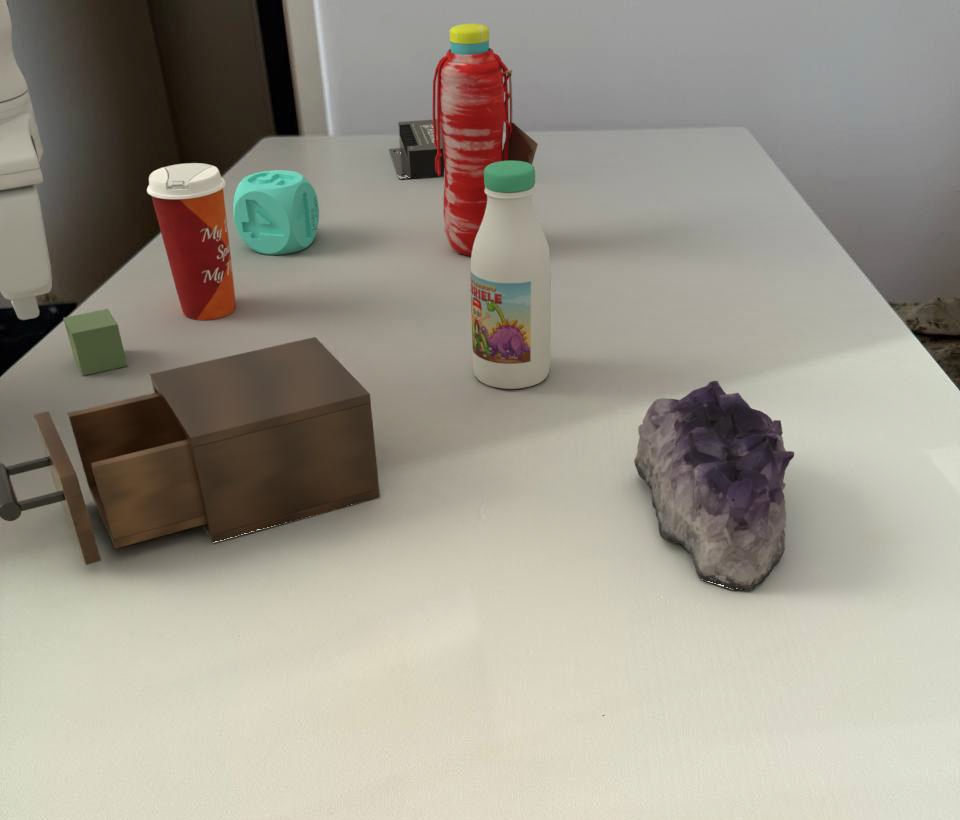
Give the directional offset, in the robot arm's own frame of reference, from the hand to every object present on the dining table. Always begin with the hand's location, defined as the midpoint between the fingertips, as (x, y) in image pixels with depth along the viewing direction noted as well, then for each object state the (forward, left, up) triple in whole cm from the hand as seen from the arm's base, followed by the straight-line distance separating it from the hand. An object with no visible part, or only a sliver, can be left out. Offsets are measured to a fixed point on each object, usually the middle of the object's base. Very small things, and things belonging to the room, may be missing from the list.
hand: (27, 312), depth 94 cm
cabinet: (+15, -14, -14) cm, 25 cm away
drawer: (+2, -14, -13) cm, 19 cm away
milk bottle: (+43, -5, -14) cm, 45 cm away
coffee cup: (+21, +27, -14) cm, 37 cm away
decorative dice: (+35, +43, -14) cm, 57 cm away
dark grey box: (+67, +63, -14) cm, 93 cm away
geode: (+45, -37, -14) cm, 60 cm away
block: (+7, +19, -14) cm, 25 cm away
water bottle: (+57, +28, -14) cm, 65 cm away
